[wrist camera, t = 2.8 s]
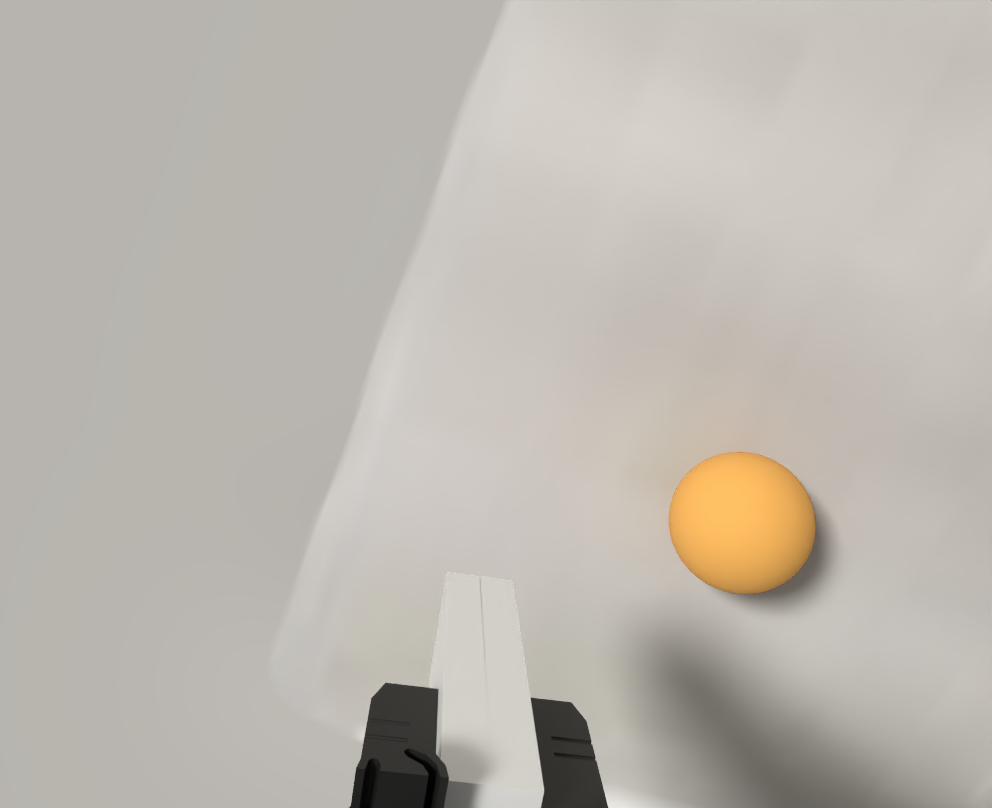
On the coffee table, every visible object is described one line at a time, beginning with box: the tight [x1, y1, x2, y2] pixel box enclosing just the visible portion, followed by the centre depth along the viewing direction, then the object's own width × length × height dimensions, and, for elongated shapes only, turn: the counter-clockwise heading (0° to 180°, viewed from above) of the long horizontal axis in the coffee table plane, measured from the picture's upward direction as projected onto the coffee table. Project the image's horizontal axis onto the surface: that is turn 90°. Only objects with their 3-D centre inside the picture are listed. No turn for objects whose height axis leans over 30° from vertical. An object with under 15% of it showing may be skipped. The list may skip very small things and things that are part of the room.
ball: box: [669, 452, 816, 594], centre depth 28 cm, size 5×5×5 cm
